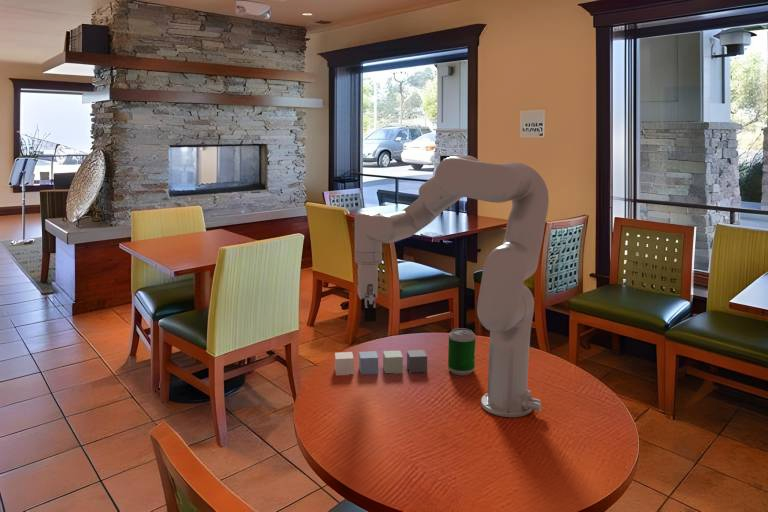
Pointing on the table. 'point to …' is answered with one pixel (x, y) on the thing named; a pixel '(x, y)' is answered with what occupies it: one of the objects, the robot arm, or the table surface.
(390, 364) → the sage block
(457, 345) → the soda can
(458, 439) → the table surface
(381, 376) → the table surface
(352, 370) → the cream block
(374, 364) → the slate block
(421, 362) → the charcoal block
